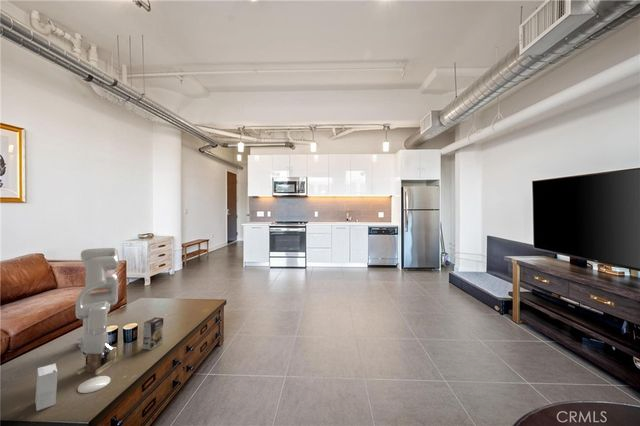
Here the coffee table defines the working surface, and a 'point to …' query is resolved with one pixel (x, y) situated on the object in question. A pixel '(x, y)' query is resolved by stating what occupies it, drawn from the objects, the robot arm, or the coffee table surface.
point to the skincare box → (46, 386)
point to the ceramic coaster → (94, 384)
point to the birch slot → (110, 360)
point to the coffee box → (153, 333)
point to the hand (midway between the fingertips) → (96, 363)
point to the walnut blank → (93, 362)
